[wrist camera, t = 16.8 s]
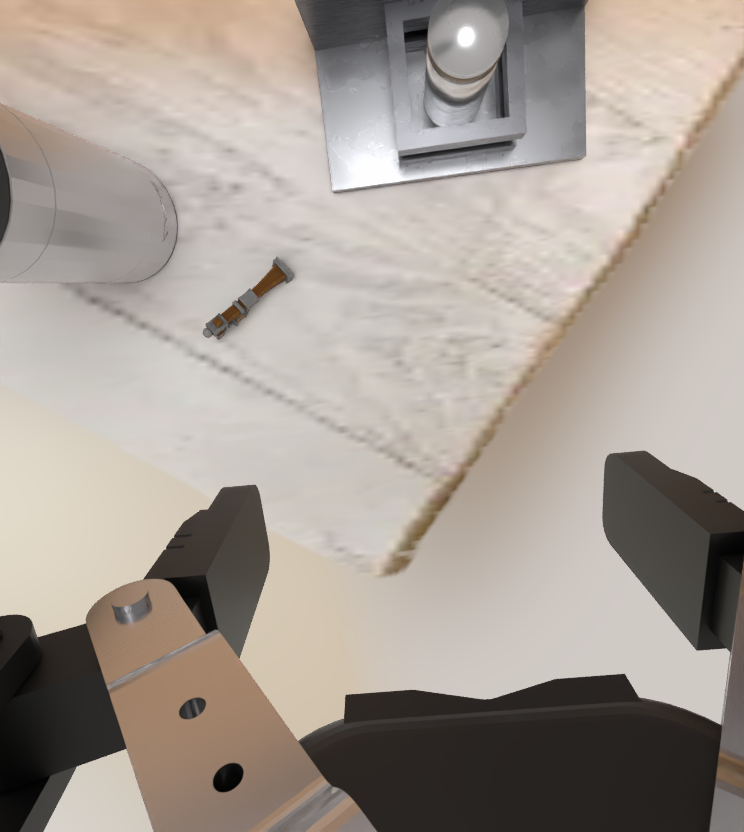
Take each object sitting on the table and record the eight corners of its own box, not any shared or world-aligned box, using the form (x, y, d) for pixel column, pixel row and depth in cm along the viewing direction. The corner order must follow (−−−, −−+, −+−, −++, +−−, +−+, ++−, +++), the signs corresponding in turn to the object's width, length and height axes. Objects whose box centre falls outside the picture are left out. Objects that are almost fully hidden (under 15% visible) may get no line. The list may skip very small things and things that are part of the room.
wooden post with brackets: (199, 335, 41) (194, 324, 37) (273, 272, 43) (276, 255, 38) (215, 352, 41) (212, 343, 37) (288, 289, 43) (293, 273, 38)
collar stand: (334, 192, 38) (302, 154, 27) (311, 7, 35) (264, -126, 24) (581, 159, 37) (661, 102, 25) (578, -39, 34) (667, -207, 22)
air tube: (425, 133, 36) (430, 79, 26) (421, 68, 35) (424, -13, 25) (484, 125, 36) (511, 67, 26) (480, 59, 35) (507, -27, 25)
